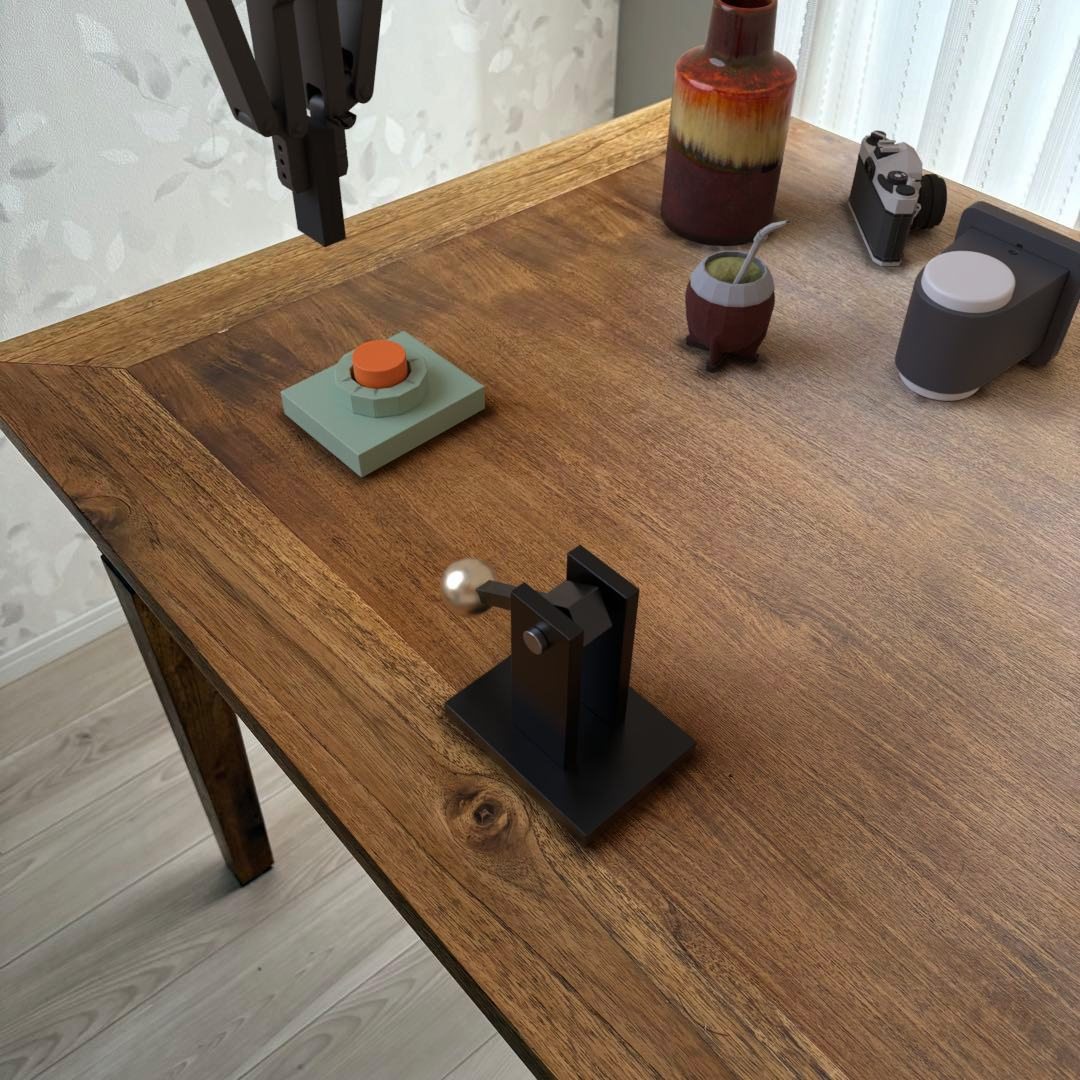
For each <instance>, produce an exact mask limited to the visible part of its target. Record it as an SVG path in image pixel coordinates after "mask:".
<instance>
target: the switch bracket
mask: <svg viewBox="0 0 1080 1080" xmlns="http://www.w3.org/2000/svg"><path fill="white" fill-rule="evenodd" d="M565 575H566V576H565V580H568V581H572V582H577V583H582V584H587V585H592V586H596V587H599V590H600V592H601V595H602V598H603V601H604V603H605V606H606V609H607V611H608V614H609V617H610V619H611V622H612V625H613V626H612V627H611V628H609V629H608V630H606V631H605V632H604V633H602V634H601V635H600V636H598V637H597V638H596V639H594V640H593V641H592V642H590V643H589V644H588V645H586V646H585V647H583V644H584V629H582V628H581V627H580V626H579V625H577V624H576V623H575V622H574V621H572V620H571V619H570V618H569V617H567V616H566V615H565V614H564V613H562V612H561V611H560V610H559V609H558V608H556V607H555V606H554V605H553V604H551V603H550V602H549V601H548V600H546V599H545V598H544V597H543V596H541V595H540V594H539V593H538V592H537V591H538V590H536V589H534V588H533V587H532V586H530V585H529V584H528V583H527V582H525V581H523V582H522V583H521V584H519V585H517V586H518V587H516V588H515V589H513V590H512V591H511V592H510V594H511V611H510V654H509V656H507V657H506V658H505V659H503V660H501V661H500V662H499V663H497V664H496V665H495V666H493V667H492V668H491V669H489V670H488V671H486V672H485V673H483V674H482V675H481V676H479V677H478V678H477V679H474V681H472V682H471V683H469V684H468V685H467V686H465V687H464V688H462V689H461V690H459V692H457V693H456V694H454V695H452V697H450V698H448V699H446V701H445V702H443V705H444V715H445V717H446V718H447V719H449V721H450V722H452V724H454V726H456V727H457V728H458V729H459V730H460V731H461V732H462V733H463V735H465V736H466V737H467V738H468V739H469V740H471V742H473V744H475V745H476V746H477V747H478V748H479V749H480V750H481V751H482V752H483V753H484V754H485V755H487V757H488V758H489V759H490V760H491V761H492V762H493V763H495V765H497V766H498V767H499V768H500V769H501V770H502V771H503V772H504V773H505V774H506V775H507V776H509V778H510V779H512V780H513V782H515V783H516V784H517V785H518V786H519V787H520V788H521V789H522V790H523V791H524V792H525V793H526V794H527V795H528V796H530V797H531V798H532V799H533V800H534V802H536V803H537V804H538V805H539V806H540V807H541V808H542V809H543V810H544V811H545V812H546V813H547V814H548V815H549V816H550V817H552V819H554V820H555V821H556V822H557V823H558V824H559V825H560V826H561V827H562V828H563V829H564V830H565V831H566V832H567V833H568V834H569V835H570V836H571V837H573V838H574V839H575V840H576V842H578V843H579V844H580V845H581V846H582V847H583V848H584V849H587V848H588V847H589V846H590V845H591V844H593V843H594V842H595V841H596V840H597V839H598V838H600V836H602V835H603V834H604V833H605V832H607V830H609V829H610V828H611V827H612V826H613V825H614V824H616V823H617V822H618V821H619V820H620V819H621V818H623V817H624V816H625V815H626V814H627V813H628V812H629V811H631V810H632V809H633V808H634V807H635V806H637V805H638V804H639V803H640V802H641V801H642V800H643V799H644V798H646V797H647V796H648V795H649V794H651V792H653V791H654V790H655V789H656V788H657V787H658V786H659V785H661V784H662V783H663V782H664V781H665V780H667V778H669V777H670V776H671V775H672V774H673V773H675V772H676V770H678V769H679V768H680V767H681V766H682V765H684V764H685V763H687V761H688V760H689V759H691V758H692V757H693V756H694V755H695V753H696V748H697V744H698V741H697V740H696V739H694V738H693V737H692V736H691V735H689V734H688V733H687V732H686V731H685V730H683V729H682V728H681V727H680V726H679V725H677V724H676V723H675V722H674V721H673V720H671V719H670V718H669V717H667V715H665V714H664V713H663V712H662V711H660V710H659V709H658V708H657V707H656V706H654V705H653V704H652V703H651V702H650V701H648V700H647V699H646V698H645V697H643V696H642V695H641V694H640V693H639V692H637V691H636V690H635V689H634V688H632V686H630V681H631V672H632V663H633V655H634V645H635V635H636V628H637V627H636V626H637V618H638V609H639V602H640V601H639V600H640V591H641V590H640V588H638V587H637V586H636V585H634V584H633V583H632V582H631V581H629V580H628V579H627V578H625V577H624V576H623V575H621V574H620V573H618V572H617V570H615V569H613V568H612V567H611V566H610V565H608V564H607V563H606V562H604V561H603V560H602V559H600V558H599V557H597V555H595V554H593V553H592V552H591V551H589V550H588V549H587V548H586V547H584V546H583V545H582V544H578V545H577V546H576V547H573V549H571V550H569V551H568V552H567V554H566V574H565ZM535 590H536V591H535Z"/></svg>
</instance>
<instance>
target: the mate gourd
mask: <svg viewBox="0 0 1080 1080" xmlns="http://www.w3.org/2000/svg"><path fill="white" fill-rule="evenodd" d="M791 223H792V220H790V219H788V220H782V221H777V222H776V221H775V222H771V224H769V225H767V226H766V227H764V228H763V229H760V230H759V231H758V233H757V234H756V236H755V238H754V240H753V243H752V245H751V247H750V249H749V251H748V252H744V251H740V250H722V251H717V252H713V253H711V254H709V255H708V256H706V257H704V258H703V259H702V260H701V261H700V262H699V263H698V264H697V266H696V267H695V268H694V270H693V271H692V273H691V274H690V278H689V280H688V283H687V285H686V288H685V293H684V294H685V295H684V303H685V317H686V325H687V329H688V335H687V336H686V337H685V345H687V346H690V347H693V348H697V349H700V350H704V351H708V352H709V359H708V361H707V362H706V365H705V371H707V372H709V373H715V372H716V371H717V369H718V367H719V366H720V364H721V362H722V360H723V359H724V358H725V357H729V358H734V359H737V360H741V361H744V362H749V363H752V364H756V363H758V360H759V357H760V354H759V353H758V351H759V348H760V347H761V345H762V343H763V341H764V339H765V337H766V335H767V333H768V329H769V327H770V322H771V320H772V316H773V312H774V308H775V302H776V296H775V295H776V294H775V281H774V277H773V274H772V272H771V271H770V269H769V268H768V266H767V265H766V264H765V262H763V260H762V259H760V258H759V257H757V254H758V252H759V250H760V248H761V247H762V246H763V244H764V243H765V242H766V241H767V239H768V237H769V234H770V233H772V232H773V231H776V230H778V229H780V228H783V227H784V226H787V225H789V224H791Z"/></svg>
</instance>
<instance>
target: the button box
mask: <svg viewBox="0 0 1080 1080" xmlns="http://www.w3.org/2000/svg"><path fill="white" fill-rule="evenodd" d="M385 340H389V341H393V342H396V343H398V344H399V345H401V346H402V347H403V348H404V350H405V352H406V361H407V376H406V378H405V380H404V381H403V382H401V383H399V384H398V385H396V386H394V387H391V388H384V389H372V388H367V387H363V386H361V385H360V384H359V383H358V382H357V381H356V379H355V376H354V369H353V362H352V355H353V352H354V351H355V349H352V350H351V351H349V352H346V353H345V354H343V356H342V357H341V358H340V359H339V361H338V362H337V363H336V364H334V365H331V366H330V367H327V368H325V369H324V370H322V371H321V370H320V371H319V372H317V373H315V374H313V375H311V376H310V377H308V378H305V379H303V380H301V381H299V382H297V383H295V384H293V385H291V386H289V387H287V388H285V389H283V390H281V391H280V398H281V403H282V407H283V412H284V415H285V416H286V417H288V418H289V419H290V420H291V421H293V422H294V423H295V424H296V425H298V427H300V428H301V429H302V430H303V431H304V432H306V433H307V434H308V435H309V436H311V437H312V438H313V439H314V440H316V442H318V443H319V444H320V445H321V446H322V447H324V448H325V449H326V450H328V452H329V453H331V454H332V455H334V457H336V458H337V459H338V460H339V461H341V462H342V463H343V464H344V465H346V466H347V467H348V468H349V469H350V470H351V471H353V472H354V473H355V474H357V476H359V477H360V478H364V477H366V476H367V475H370V474H371V473H373V472H374V471H376V470H378V469H380V468H382V467H383V466H385V465H387V464H389V463H391V462H393V461H394V460H396V459H398V458H399V457H401V456H403V455H405V454H406V453H409V452H411V451H412V450H413V449H416V448H417V447H419V446H421V445H422V444H423V445H424V443H426V442H428V441H429V440H432V439H433V438H435V437H437V436H438V435H440V434H442V433H444V432H445V431H448V430H449V429H451V428H453V427H455V426H456V425H458V424H460V423H462V422H463V421H465V420H467V419H468V418H470V417H473V416H474V415H476V414H477V413H479V412H481V411H483V410H485V409H486V398H485V397H486V396H485V395H486V394H485V391H486V390H485V386H484V384H481V382H479V381H478V380H476V379H475V378H473V377H472V376H470V375H469V374H467V373H466V372H464V371H463V370H462V369H461V368H458V366H456V365H454V364H453V363H452V362H451V361H448V360H447V358H444V357H443V356H442V355H440V354H439V353H438V352H436V351H434V350H433V349H432V348H430V347H429V346H427V344H424V343H423V342H421V341H420V340H419V339H418V338H416V337H414V336H413V335H411V334H410V333H408V332H407V331H406V330H402V331H400V332H398V333H396V334H395V335H392V336H390V337H388V338H386V339H385Z"/></svg>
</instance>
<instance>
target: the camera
mask: <svg viewBox="0 0 1080 1080" xmlns="http://www.w3.org/2000/svg"><path fill="white" fill-rule="evenodd" d="M947 204H948V187H947V183H946V181H945V178H943V177H939V175H938V174H936V173H925V174H923V162H922V160H921V157H920V156H919V155H918V153H917V151H916V149H915V147H913V146H911V145H910V144H908V143H907V142H905V141H902V142H898V143H897V141H896V139H890V138H888V137H887V133H886V132H885V131H883V130H877V129H876V130H873V131H872V132H870V134H866V135H865V136H864V137H863V138H862V139H861V142H860V147H859V151H858V154H857V161H856V166H855V170H854V174H853V179H852V183H851V189H850V192H849V196H848V201H847V205H848V208H849V210H850V212H851V214H852V217H853V219H854V221H855V223H856V226H857V228H858V230H859V232H860V235H861V237H862V239H863V241H864V245H865V246H866V248H867V251H868V253H869V257H870V258H871V261H872V263H875V264H877V265H879V266H880V267H899V265H900V264H901V263H902V260H903V258H904V255H905V254H904V253H905V249H906V245H907V242H908V238H909V235H910V234H909V233H910V232H915V231H916V230H917V229H919V230H924V231H925V230H928V231H929V230H932V229H933V228H934V227H937V226H939V225H941V224H942V221H943V220H944V218H945V214H946V210H947Z"/></svg>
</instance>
